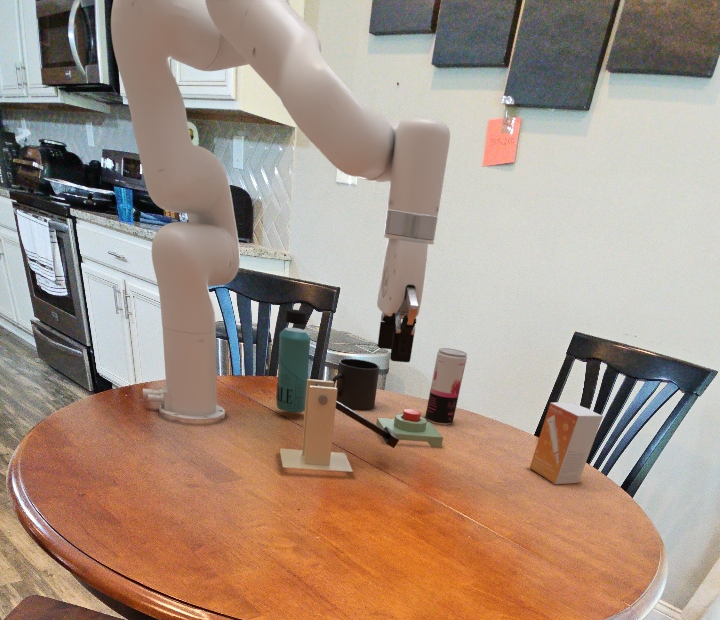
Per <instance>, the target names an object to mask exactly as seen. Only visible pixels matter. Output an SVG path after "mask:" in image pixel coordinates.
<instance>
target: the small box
mask: <svg viewBox="0 0 720 620" xmlns="http://www.w3.org/2000/svg"><path fill="white" fill-rule="evenodd" d="M603 418H604V415H602V414H599V413H598V412H595V411H593V410H592V409H590V408H588V407H584V406H582V405H580V404H577V403H576V402H566V401H565V402H564V401H563V402H555V401H554V402H550V403H549V406H548V409H547V412H546V415H545V419H544V420H543V425H542V427H541V431H540V434H539V437H538V440H537V444H536V447H535V450H534V453H533V457H532V459H531V462H530V466H529V469H530V470H532V471H534V472H535V473H536V474H539V475H540V476H541V477H542V478H543V477H544V478H545V479H546V480H548V481H549V482H551V483H552V484H554V485H565V484H566V485H567V484H578V483H579V482H580V480H581V477H582V474H583V472H584V469H585V466H586V463H587V460H588V458H589V455H590V453H591V450H592V448H593V445H594V442H595V438H596V437H597V433H598V431H599V428H600V425H601V423H602V420H603Z"/></svg>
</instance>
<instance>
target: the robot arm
mask: <svg viewBox="0 0 720 620" xmlns="http://www.w3.org/2000/svg"><path fill="white" fill-rule="evenodd" d="M290 3H291V2H290V0H113V1H112V7H111V15H110V31H111V33H110V35H111V42H112V48H113V52H114V53H113V54H114V57H115V60H116V64H117V68H118V72H119V75H120V78H121V82H122V85H123V90H124V92H125V97H126V100H127V104H128V108H129V113H130V118H131V124H132V128H133V133H134V137H135V143H136V147H137V152H138V156H139V162H140V166H141V170H142V175H143V179H144V183H145V187H146V190H147V194H148V195H149V197H150V198H151V201H152V202H153V203H154V204H155V205H156V206H157V207H158V208H160V209H162V210H164V211H167V212H171V213H176V214H177V213H178V214H179V213H180V214H186V215H187V219H188V220H187V221H173V222H170V223H167V224H164V225H163V226H162V227H160V228H159V229H158V230H157V231H156V233H155V235H154V237H153V239H152V243H151V260H152V266H153V270H154V274H155V279H156V284H157V288H158V289H157V290H158V294H159V303H160V314H161V315H160V316H161V327H162V338H163V339H162V342H163V357H164V359H163V360H164V375H165V385H164V388H161V387H160V388H159V389H153V388H142V399H143V400H147V402H149V403H150V402H151V403H160V404H159V406H158V413H160V414H166V415H167V416H168V415H169V416H171V417H174V418H180V419H188V420H212V419H216V418H217V419H218V418H219V419H224V418H225V416H226V411H225V409H224V407H222V406H221V405H219V404H218V395H217V393H218V389H217V387H218V386H217V383H218V382H217V330H216V327H217V326H216V312H215V308H214V304H213V299H212V297H211V294H210V291H209V287H219V286H226V285H227V284H229V283H231V282H232V281H233V280H234V279H235V278H236V276H237V274H238V272H239V269H240V263H241V251H240V242H239V236H238V229H237V223H236V216H235V210H234V209H235V208H234V203H233V197H232V192H231V186H230V182H229V178H228V175H227V173H226V170H225V168H224V166H223V164H222V163H221V161H220V160H219V158H218V157H217V156H216V155H215V154H214V153H213V152H212V151H210V150H209V149H207V148H205V147H203V146H200V145H196V144H194V143H193V140H192V136H191V132H190V128H189V123H188V118H187V117H188V115H187V110H186V105H185V102H184V101H185V100H184V98H183V95H182V92H181V89H180V87H179V84H178V82H177V80H176V78H175V76H174V74H173V72H172V68H171V66H170V59H172V60H174V61H176V62H179V63H181V64H182V65H186V66H187V67H190V68H193V69H195V70H198V71H202V72H216V71H217V72H219V71H223V70H228V69H233V68H238V67H242V66H247V65H249V67H251V68H252V70H253V71H254V72H256V74H257V75H258V76H259V77H260V78H261V79H262V80H263V81H264V82H265V83H266V84H267V86H268V87H269V88H270V89H271V90H272V91H273V92H274V93H275V95H276V96H277V97H278V98H279V99H280V101H281V103H282V106H283V107H284V108H285V110H286V111H287V113H288V115H289V116H290V117H291V119H292V120H293V122H294V124H295V125H296V126H297V127H298V129H299V130H300V131H301V132H302V133H303V134H304V136H305V137H306V138H307V139H308V140H309V142H311V143H312V144H313V146H314V147H315V148H316V149H317V150H318V151H319V152H320V153H321V154H322V155H323V156H324V157H325V158H326V159H327V160H328V161H329V162H330V163H331V164H332V165H333V167H335V168H336V169H337V170H338V171H340V172H341V173H344V174H345V175H347V176H351V177H354V178H358V179H361V180H364V181H368V182H372V183H388V182H389V190H388V199H387V208H386V209H387V210H386V215H385V216H386V217H385V223H384V234H383V238H385V239H387V242H386V246H385V247H386V248H385V251H384V255H383V263H382V268H381V273H380V274H381V275H380V281H379V287H378V295H377V300H376V306H377V308H378V310H379V311H381V312H382V313H381V317H380V323H379V331H378V338H377V348H379V349H382V350H390V355H389V359H390V361H391V362H399V363H410V362H411V359H412V358H411V357H412V352H413V345H414V339H415V333H416V324H417V317H418V316H419V313H420V309H421V304H422V300H423V299H422V298H423V292H424V284H425V279H426V277H425V276H426V267H427V262H428V249H429V247H428V246H429V245H434V244H435V238H436V237H435V236H436V231H437V225H438V219H439V218H438V217H439V211H440V204H441V199H442V193H443V187H444V180H445V174H446V169H447V168H446V167H447V161H448V155H449V150H450V149H449V148H450V141H451V131H450V128H449V127H448V125H447V124H446V123H445V122H443V121H441V120H439V119H434V118H431V117H423V116H407V117H404V118H402V119H401V120H396V119H393V118H391V117H387V116H385V115H383V114H382V113H380V112H378V111H376V110H374V109H372V108H371V107H368V106H366V105H365V104H364V103H363V102H362V101H361V100H360V99H359V98H358V97H357V96H356V94H354V93H353V92H352V91H351V90H350V88H349V87H348V86H347V85H346V84H345V83H344V82H343V81H342V80H341V79H340V77H338V75H337V74H336V72H334V71H333V70H332V68H331V67H330V66H329V64H328V63H327V62H326V60H325V59H324V57H323V55H322V44H321V40H320V38H319V36H318V35H317V33H316V32H315V31H314V30H313V28H312V27H311V26H310V25H309V24H308V23H307V22H306V21H305V20H304V19H303V17H302V16H301V15H299V13H298V12H297V11H296V10H295V9H294V8H293V7H292V6H291V4H290Z"/></svg>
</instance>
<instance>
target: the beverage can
mask: <svg viewBox="0 0 720 620" xmlns="http://www.w3.org/2000/svg"><path fill="white" fill-rule="evenodd" d="M467 355H468V353H467V352H465V351H463V350H460V349H455V348H449V347H440V348H438V351H437V354H436V358H435V364H434V369H433V373H432V380H431V384H430V389H429V395H428V401H427V406H426V411H425V416H424V417H425V419H426V420H427V422H431V423H432V424H436V425H440V426H449V425H451V424H452V423H453V422H454V418H455V414H456V410H457V405H458V401H459V395H460V392H461V387H462V383H463V378H464V372H465V370H466V369H465V368H466V364H467V359H468V357H467Z"/></svg>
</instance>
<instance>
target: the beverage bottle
mask: <svg viewBox="0 0 720 620" xmlns="http://www.w3.org/2000/svg"><path fill="white" fill-rule="evenodd" d="M284 319H285V320H284V321H285V322H286V323H289V324H293V325H294V324H295V325H307V311H303V310H300V309H292V308H291V309H286V311H285V317H284ZM278 337H279V340H278V341H279V345H278V346H279V347H278V354H277V358H278V361H277V381H276V382H277V384H276V397H275V398H276V399H275V401H276V402H275V404H276V407H277V409H279V410H280V411H284V412H287V413H304V412H305V401H306V388H307V379H309V378H308V377H309V373H308V372H309V364H310V363H309V361H310V349H311V348H310V347H311V339H312V338H311V336H310V333H308V331H306V330H305V329H302V328H297V327H285V328H283V329H282V330H281V331H280V332H279V335H278Z"/></svg>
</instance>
